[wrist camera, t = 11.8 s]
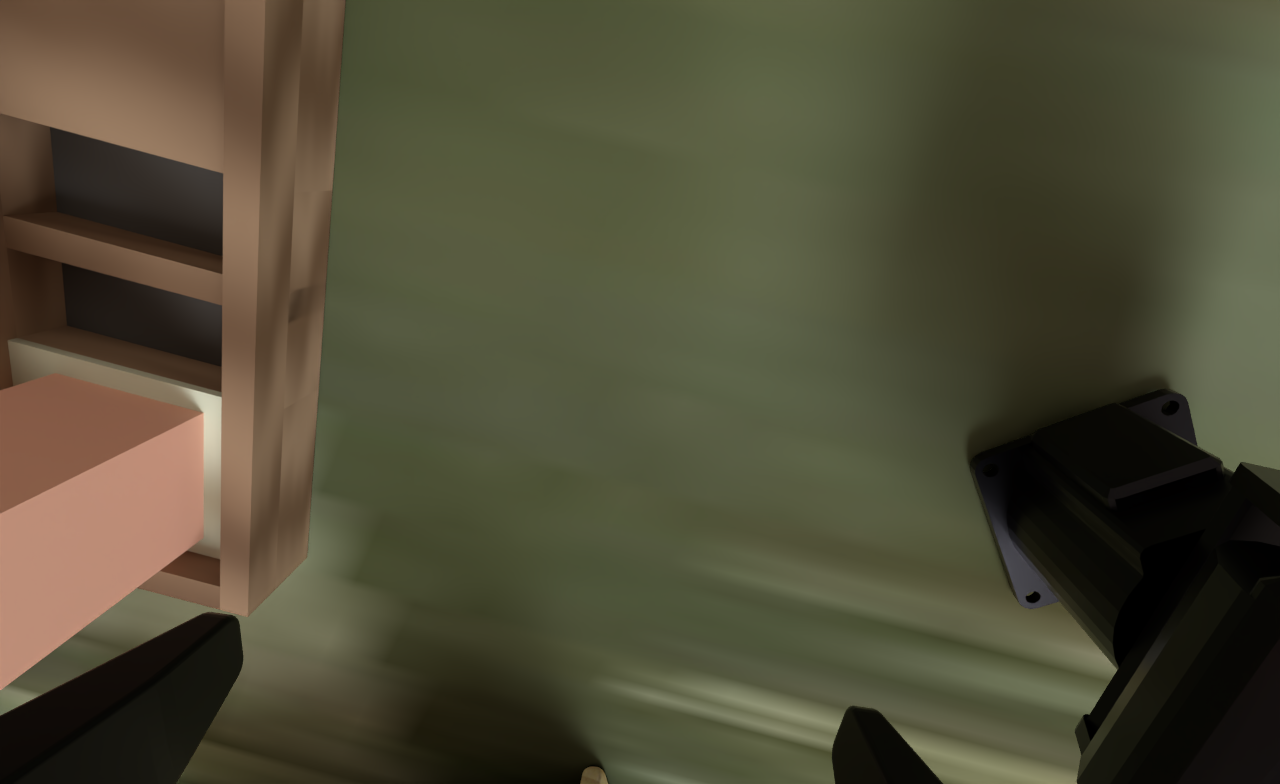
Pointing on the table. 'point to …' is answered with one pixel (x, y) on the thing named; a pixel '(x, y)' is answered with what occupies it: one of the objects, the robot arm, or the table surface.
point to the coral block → (87, 506)
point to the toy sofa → (593, 776)
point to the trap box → (180, 241)
